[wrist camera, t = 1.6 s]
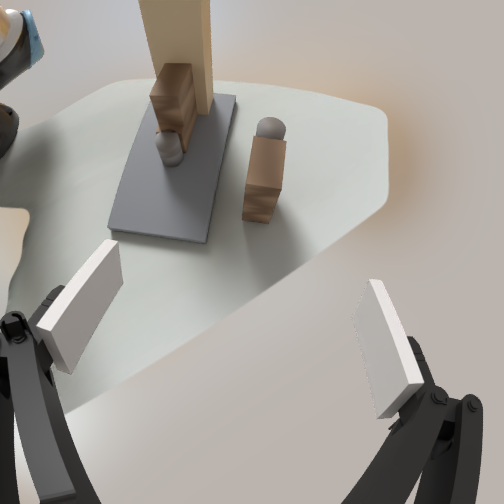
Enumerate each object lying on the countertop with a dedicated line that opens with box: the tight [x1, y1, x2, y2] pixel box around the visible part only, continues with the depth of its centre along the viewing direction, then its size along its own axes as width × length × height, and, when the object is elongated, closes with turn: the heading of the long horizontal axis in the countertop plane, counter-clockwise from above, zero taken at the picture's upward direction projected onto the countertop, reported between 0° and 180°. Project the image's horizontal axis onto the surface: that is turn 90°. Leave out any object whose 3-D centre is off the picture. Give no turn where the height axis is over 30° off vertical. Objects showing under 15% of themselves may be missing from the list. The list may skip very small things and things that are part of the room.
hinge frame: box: [107, 0, 236, 244], centre depth 29 cm, size 14×25×25 cm, turn 173°
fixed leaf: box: [149, 63, 198, 167], centre depth 35 cm, size 4×10×11 cm, turn 173°
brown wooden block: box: [242, 117, 286, 224], centre depth 35 cm, size 4×9×11 cm, turn 173°
